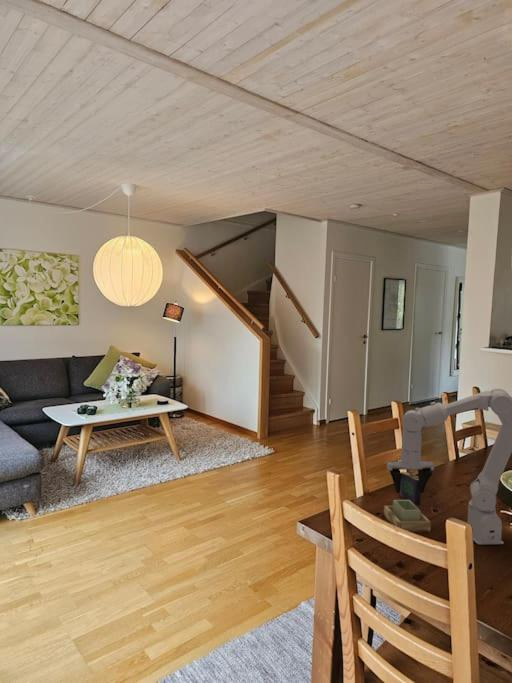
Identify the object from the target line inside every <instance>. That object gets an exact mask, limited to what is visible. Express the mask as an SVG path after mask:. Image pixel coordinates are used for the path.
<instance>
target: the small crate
mask: <svg viewBox="0 0 512 683" xmlns="http://www.w3.org/2000/svg"><path fill="white" fill-rule="evenodd" d="M392 506H393V513H394V515H395V516H396V517H397V518H398V519H399V520H400V521H420V513H422V512H421V509H420V508H419V507H418V506H417V505H414V504H413V503H412V502H411V501H410V500H405V499H393V500H392Z"/></svg>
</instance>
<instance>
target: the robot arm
mask: <svg viewBox="0 0 512 683" xmlns="http://www.w3.org/2000/svg"><path fill="white" fill-rule="evenodd" d="M489 408H490V409H491V411H492V412H493V413H494V414H495V415H497V417H498V419H499V420H500V423H501V427H500V429H499V431H498V433H497V435H496V438H495V440H494V443H493V445H492V447H491V450H490V452H489V454H488V457H487V459H486V461H485V464H484V466H483V469H482V471H481V472H479V474H478V475H477V478H476V479H475V480H473V481H472V482H471V484H470V485H469V492H470V494H471V499H470V500H469V501H468V509H467V522H468V523H470V524H471V525H472V528H473V540H472V541H473V542H475V543H476V544H477V545H503V544H504V541H503V540H502V534H503V533H502V530H503V522H502V520H501V518H500V517H499V516H498V514H497V511H496V509H497V508H496V506H497V493H498V491H499V485H500V484H499V482H500V479H501V477H502V475H503V472H504V470H505V468H506V466H507V463H508V461H509V459H510V457H511V454H512V396H511V395H510V394H509V393H508V392H507V391H506V390H504V389H501V388H494V389H492V390H486V391H481V392H478V393H475V394H472V395H470V396H467V397H464V398H462V399H459V400H456V401H452V402H450V403H449V402H448V403H447V404H444V403H441V402H436V401H433V402H430V405H426V406H423V407H420V408H419V407H415V410H414V409H410V410H408V411H406V412H405V413H404V415H403V417H402V426H403V428H402V435H401V436H402V437H401V452H400V453H401V454H400V455H401V458H400V460H397V461H391V462H390V461H387V462H386V469H387V470H388V471H389V473H390V476H391V478H392V482H393V485H394V491H395V492H396V493H397V494H400V484H401V478H402V475H403V474H402V473H401V470H404V471H405V470H417V473H418V474H417V477H419V482H418V491H420V492H421V494H424V491H425V488H426V485H427V483H428V481H429V479H430V478H431V477H432V475H433V471H434V470H435V464H434V462H432V461H421V456H422V455H421V453H422V437H423V436H422V434H421V433H422V428H423V427H429V426H433V425H436V424H440V423H442V422H446V421H447V420H448V418H449V417H450V415H456V414H460V413H463V412H467V411H470V410H474V409H479V410H483V411H485V412H489Z"/></svg>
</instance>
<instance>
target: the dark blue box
mask: <svg viewBox="0 0 512 683" xmlns="http://www.w3.org/2000/svg"><path fill="white" fill-rule="evenodd" d="M414 472H415V470H414V469H411V470H408V472H407V471H400V473H402V474H403V475H402V478H401V484H400V493H399V497H400V498H402V499H403V500H410V501H411V502H412V503H413V504H414V505H415V506H421V505H422V504H421V499H422V498H421V497H422V493H421V492H420V491H418V482H419V477H418V476H417V475H416V474H415V473H414Z"/></svg>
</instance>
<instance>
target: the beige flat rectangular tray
mask: <svg viewBox="0 0 512 683" xmlns="http://www.w3.org/2000/svg"><path fill="white" fill-rule="evenodd" d="M383 516H384V517H385V518H386V519H387V521H388V522H390V524H391V525H392V524H394V525H396V526H399V527H401V528H403V529H406V530H408V531H411V532H410V533H430V532H431V529H432V521H431V520H429V519H428V518H427V517H426V515H424V513H422V512H421V513H420V521H400V520H399V519H398V518H397V517H396V516H395V515H394V513H393V505H383Z"/></svg>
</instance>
